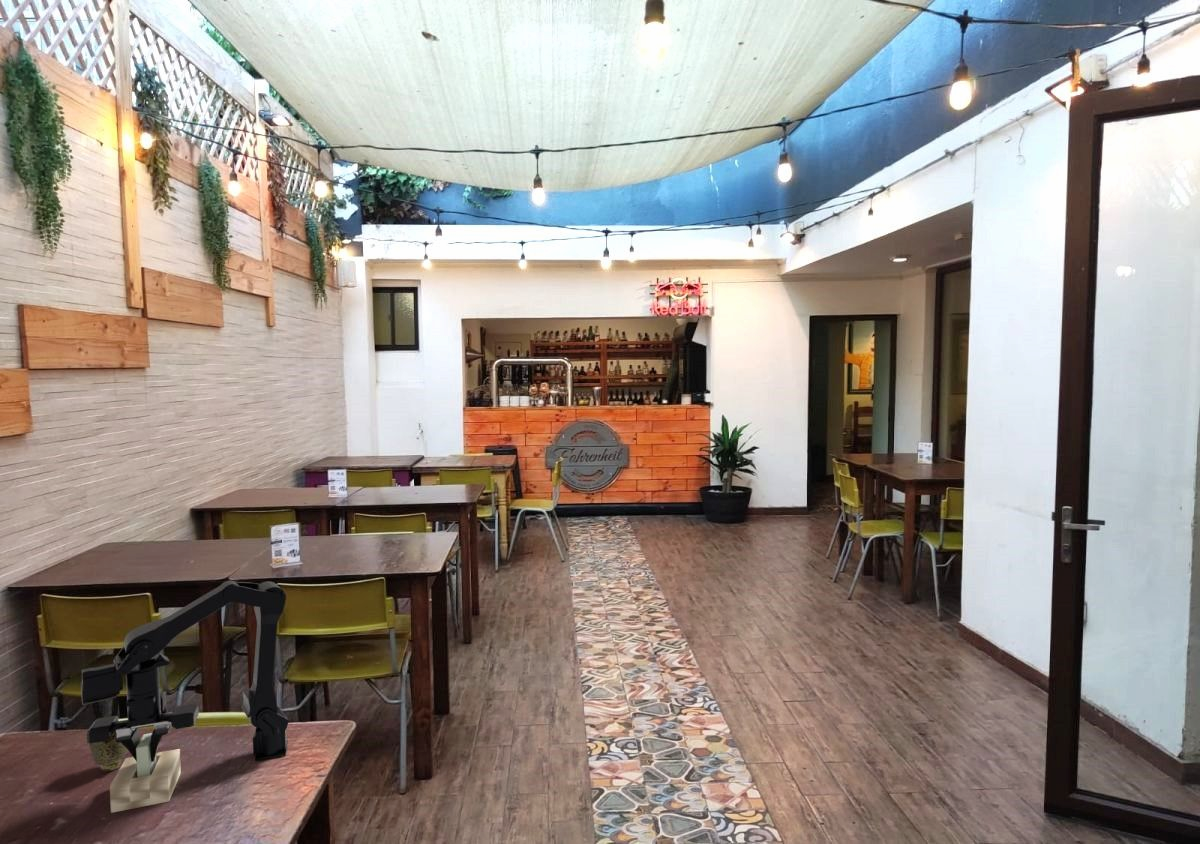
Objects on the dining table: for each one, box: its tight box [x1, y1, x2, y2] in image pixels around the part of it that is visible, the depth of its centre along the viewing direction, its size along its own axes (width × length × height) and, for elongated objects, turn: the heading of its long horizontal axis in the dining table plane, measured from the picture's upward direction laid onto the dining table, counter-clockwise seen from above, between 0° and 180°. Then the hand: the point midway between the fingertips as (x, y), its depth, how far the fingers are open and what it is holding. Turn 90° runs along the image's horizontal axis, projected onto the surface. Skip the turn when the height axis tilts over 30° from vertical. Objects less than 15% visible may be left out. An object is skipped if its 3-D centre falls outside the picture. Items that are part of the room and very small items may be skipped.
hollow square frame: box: [109, 748, 182, 814], centre depth 141 cm, size 10×11×6 cm
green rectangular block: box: [136, 732, 156, 777], centre depth 141 cm, size 2×6×8 cm, turn 21°
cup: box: [89, 732, 129, 772], centre depth 150 cm, size 8×7×8 cm
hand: (146, 761), depth 141 cm, fingers closed on green rectangular block, 2 cm apart
